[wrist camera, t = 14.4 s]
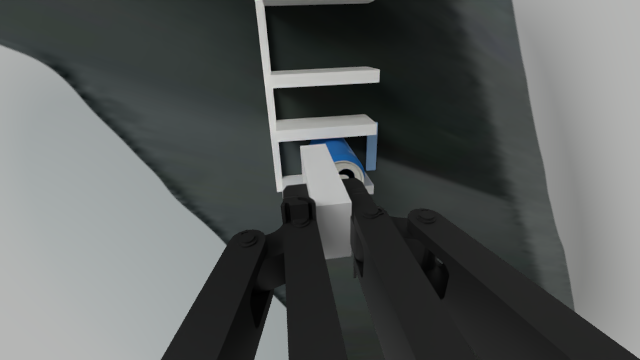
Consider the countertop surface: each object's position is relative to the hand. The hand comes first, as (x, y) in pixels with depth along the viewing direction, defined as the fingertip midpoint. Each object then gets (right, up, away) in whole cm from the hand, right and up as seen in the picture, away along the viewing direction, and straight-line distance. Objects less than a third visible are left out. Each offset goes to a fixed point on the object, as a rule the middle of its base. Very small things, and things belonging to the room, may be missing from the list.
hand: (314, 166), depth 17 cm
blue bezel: (+9, +5, +29) cm, 30 cm away
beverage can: (+1, +4, +28) cm, 28 cm away
